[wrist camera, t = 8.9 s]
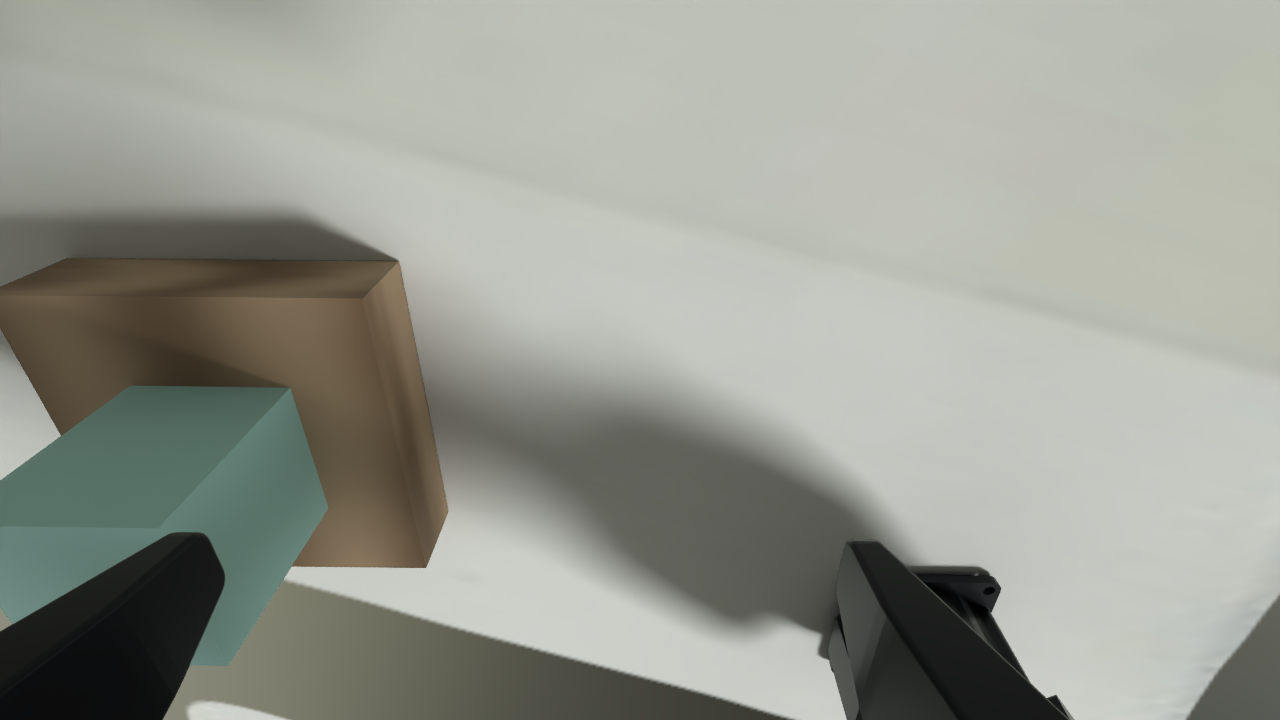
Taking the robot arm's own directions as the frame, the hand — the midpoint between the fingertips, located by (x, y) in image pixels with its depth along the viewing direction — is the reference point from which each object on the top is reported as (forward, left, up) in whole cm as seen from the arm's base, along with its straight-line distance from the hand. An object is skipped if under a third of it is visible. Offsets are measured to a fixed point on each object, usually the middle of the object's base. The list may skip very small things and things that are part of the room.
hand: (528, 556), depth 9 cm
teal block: (+12, +6, -10) cm, 17 cm away
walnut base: (+12, +6, -13) cm, 19 cm away
